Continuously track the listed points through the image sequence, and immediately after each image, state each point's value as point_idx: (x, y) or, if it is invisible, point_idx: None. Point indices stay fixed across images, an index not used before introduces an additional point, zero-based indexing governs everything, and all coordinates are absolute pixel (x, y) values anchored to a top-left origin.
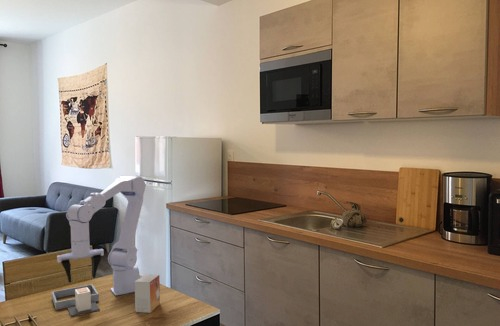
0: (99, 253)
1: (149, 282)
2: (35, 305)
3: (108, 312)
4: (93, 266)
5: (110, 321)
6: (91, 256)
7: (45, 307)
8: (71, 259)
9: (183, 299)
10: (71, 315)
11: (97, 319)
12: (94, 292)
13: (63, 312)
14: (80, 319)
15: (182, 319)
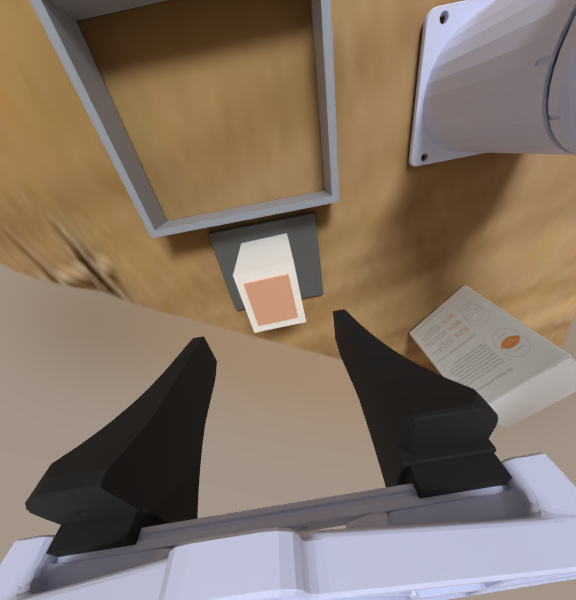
0: (501, 510)
1: (504, 427)
2: (18, 117)
3: None
4: (363, 402)
5: (338, 358)
6: (390, 497)
7: (99, 177)
8: (179, 534)
9: (560, 297)
10: (238, 309)
11: (310, 341)
12: (324, 118)
13: (203, 264)
14: None
15: None
